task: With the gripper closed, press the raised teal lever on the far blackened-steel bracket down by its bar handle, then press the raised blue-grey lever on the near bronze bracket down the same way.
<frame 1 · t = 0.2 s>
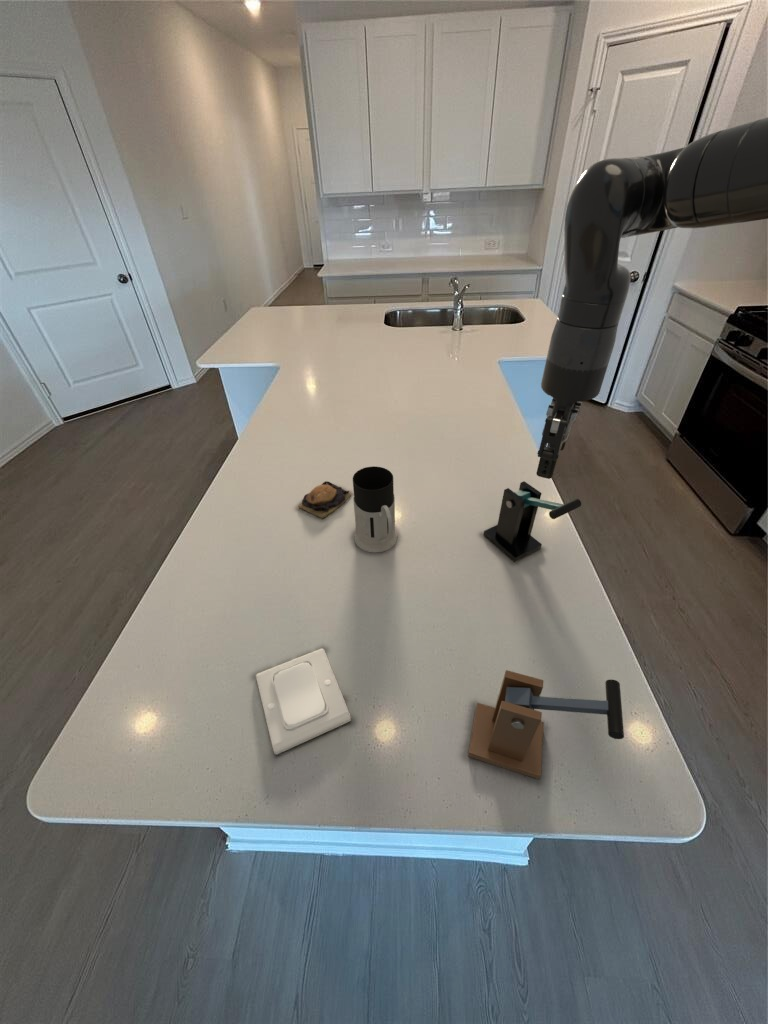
hand: (550, 461, 67), 24 cm above the counter, tool pointing down, fingers open, 8 cm apart
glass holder: (380, 546, 88), on the counter
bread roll: (325, 502, 100), on the counter
far bracket: (511, 541, 88), on the counter
light switch: (302, 699, 64), on the counter
far lever: (540, 503, 77), point 13 cm above the counter, hinge at 24.0°
near bracket: (505, 740, 59), on the counter
near lever: (561, 704, 50), point 13 cm above the counter, hinge at 24.0°
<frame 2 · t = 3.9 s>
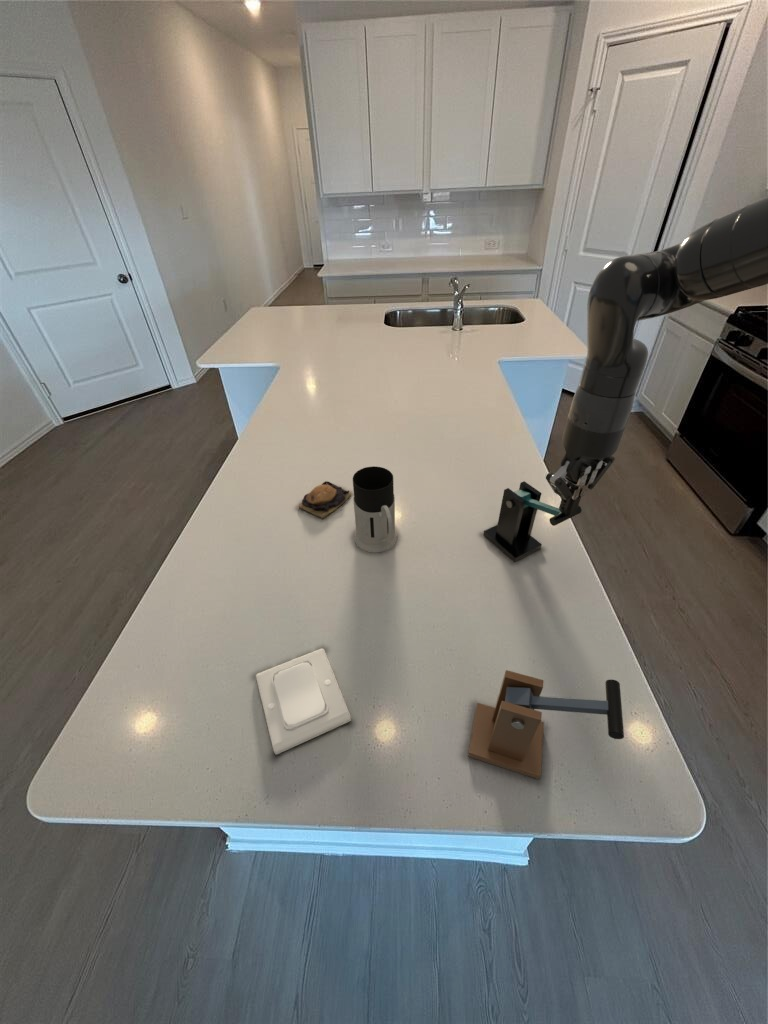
hand: (567, 512, 72), 15 cm above the counter, tool pointing down, fingers closed
far lever: (540, 506, 77), point 12 cm above the counter, hinge at 17.2°, touching gripper
everything else where it was.
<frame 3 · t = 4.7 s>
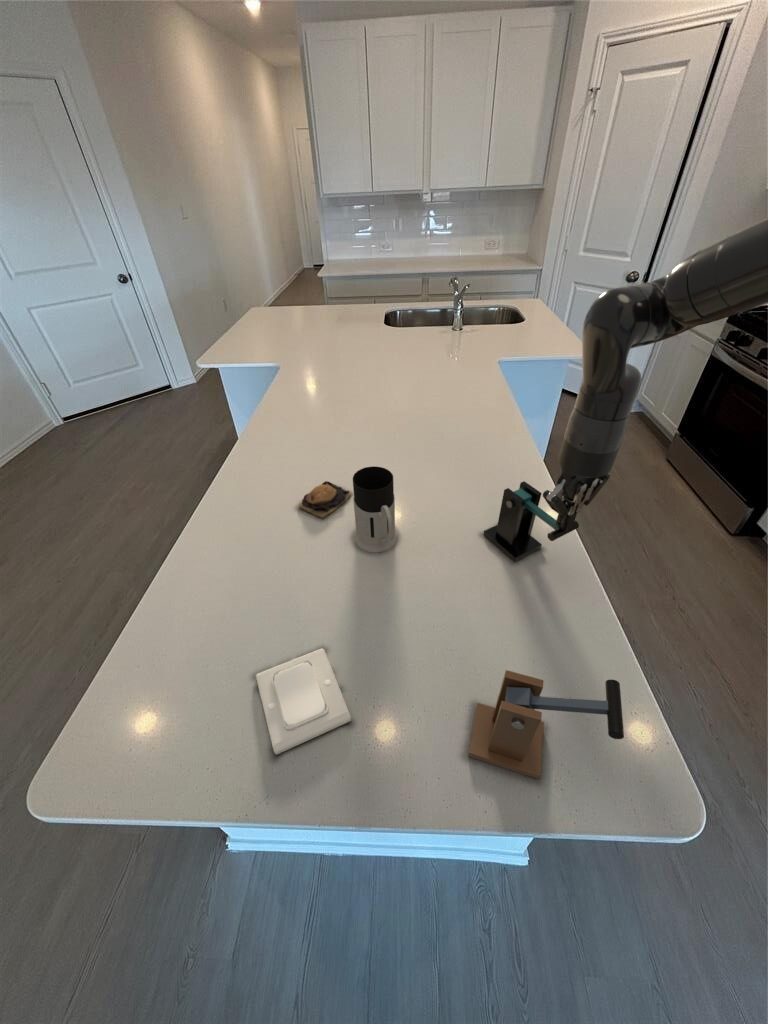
hand: (563, 527, 74), 12 cm above the counter, tool pointing down, fingers closed
far lever: (539, 513, 78), point 11 cm above the counter, hinge at -0.9°, touching gripper
everything else where it was.
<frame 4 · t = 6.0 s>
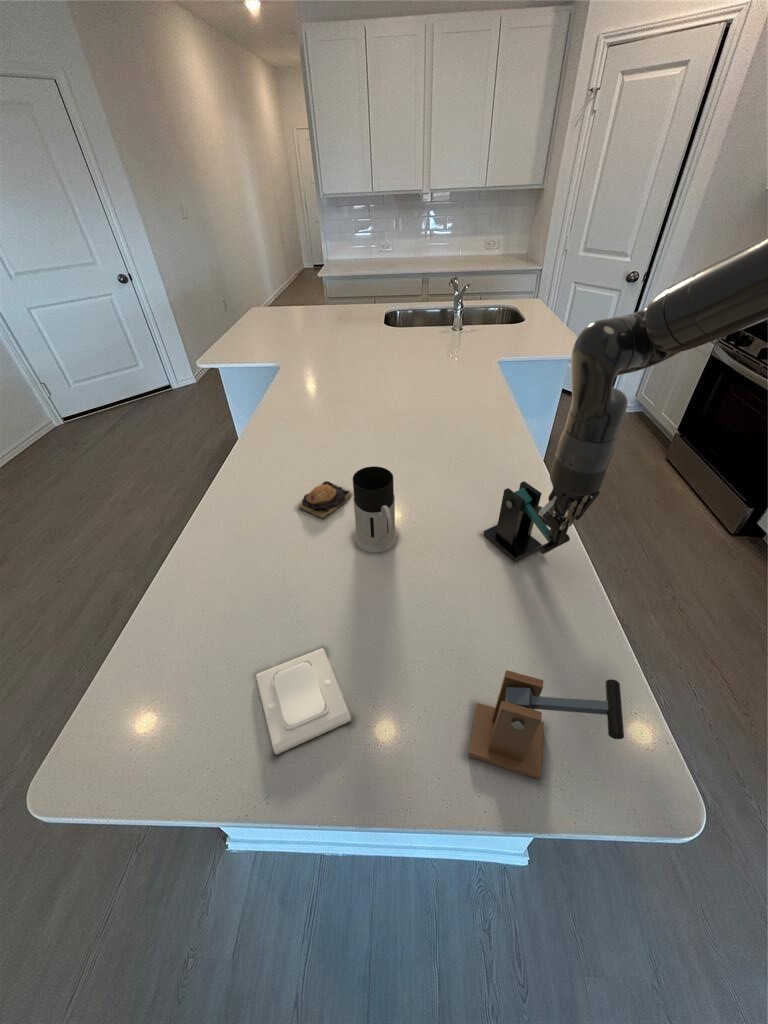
hand: (555, 540, 77), 8 cm above the counter, tool pointing down, fingers closed
far lever: (536, 519, 79), point 9 cm above the counter, hinge at -22.9°, touching gripper
everything else where it was.
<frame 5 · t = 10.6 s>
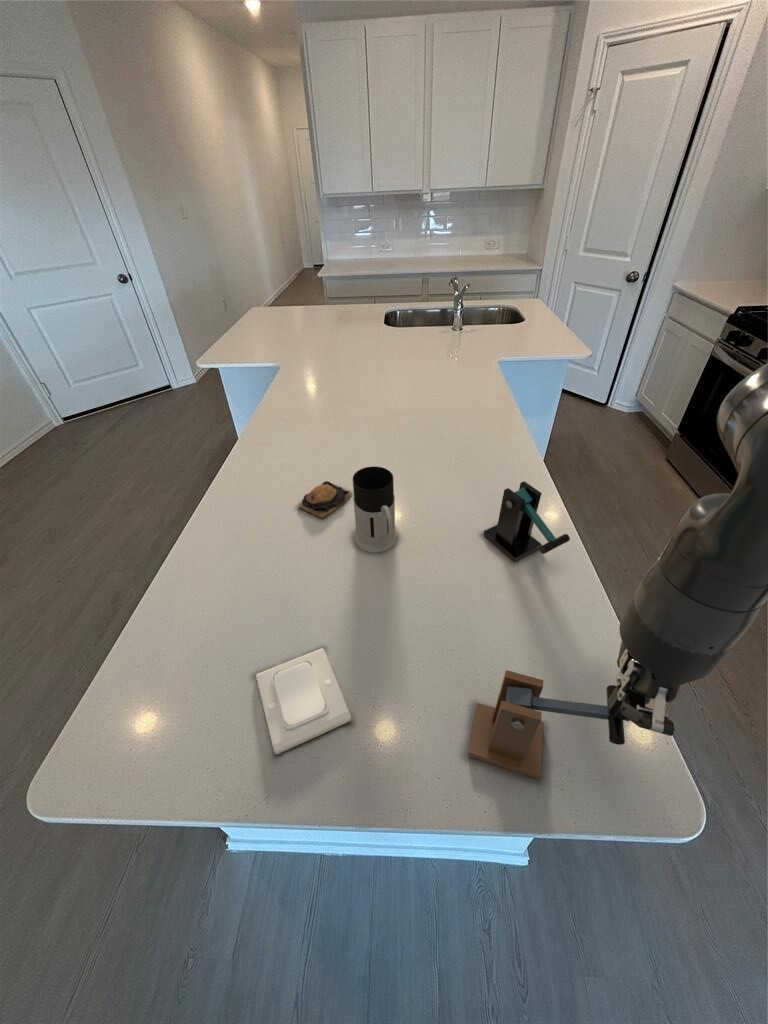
hand: (618, 710, 47), 15 cm above the counter, tool pointing down, fingers closed
far lever: (536, 519, 79), point 9 cm above the counter, hinge at -22.9°
near lever: (562, 706, 50), point 12 cm above the counter, hinge at 17.5°, touching gripper
everything else where it was.
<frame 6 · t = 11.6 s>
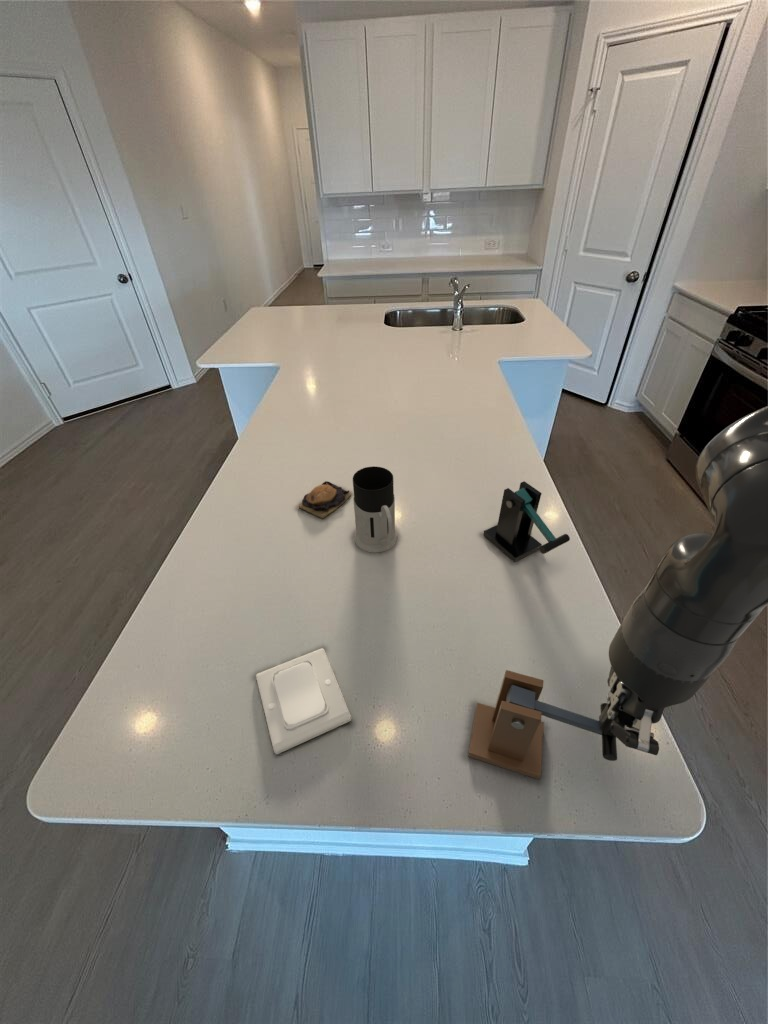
hand: (608, 727, 50), 11 cm above the counter, tool pointing down, fingers closed
near lever: (560, 714, 51), point 11 cm above the counter, hinge at -5.1°, touching gripper
everything else where it was.
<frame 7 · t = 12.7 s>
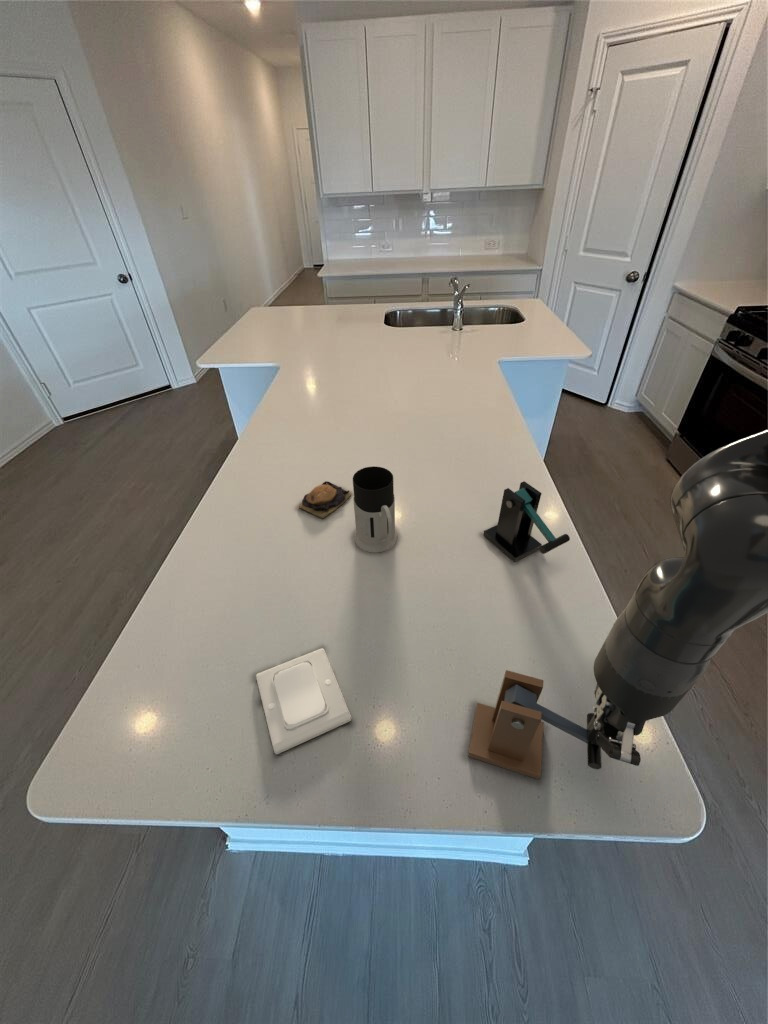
hand: (595, 736, 52), 8 cm above the counter, tool pointing down, fingers closed
near lever: (554, 719, 52), point 9 cm above the counter, hinge at -23.0°, touching gripper
everything else where it was.
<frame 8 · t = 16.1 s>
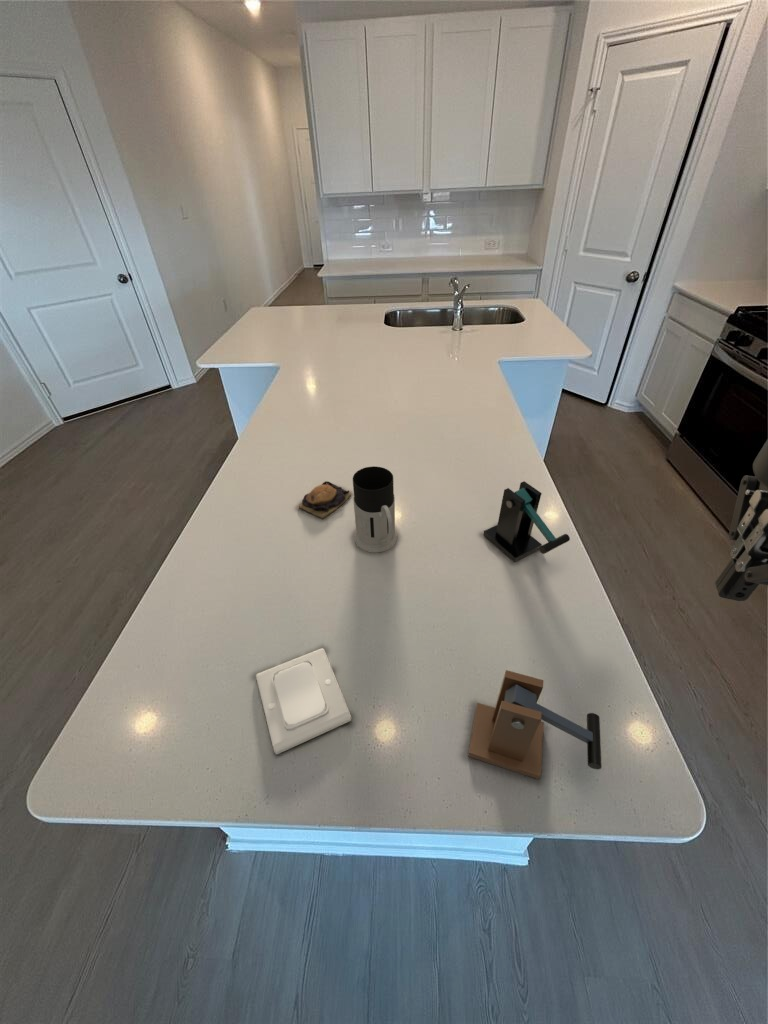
hand: (728, 593, 41), 29 cm above the counter, tool pointing down, fingers closed
near lever: (554, 719, 52), point 9 cm above the counter, hinge at -23.0°
everything else where it was.
at the end: far lever at -23° (first picture: +24°); near lever at -23° (first picture: +24°) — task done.
